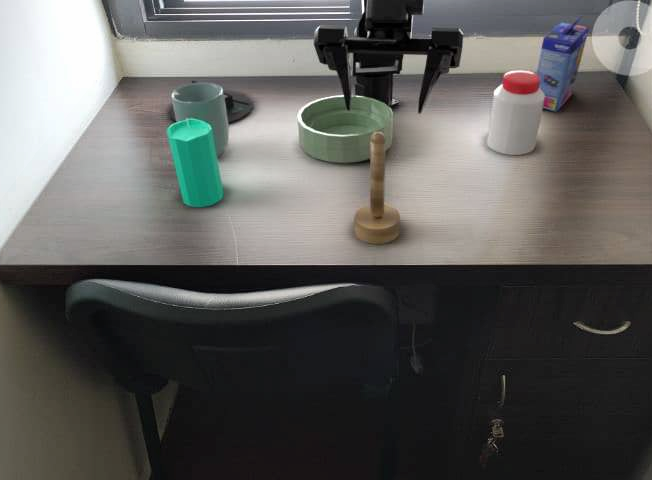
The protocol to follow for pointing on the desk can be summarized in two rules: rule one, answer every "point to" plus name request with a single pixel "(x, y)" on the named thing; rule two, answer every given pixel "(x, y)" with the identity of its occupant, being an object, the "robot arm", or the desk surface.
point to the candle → (195, 162)
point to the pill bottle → (516, 113)
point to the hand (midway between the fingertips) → (383, 111)
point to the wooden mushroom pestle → (377, 201)
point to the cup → (204, 109)
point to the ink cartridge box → (560, 62)
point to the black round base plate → (231, 106)
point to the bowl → (343, 128)
